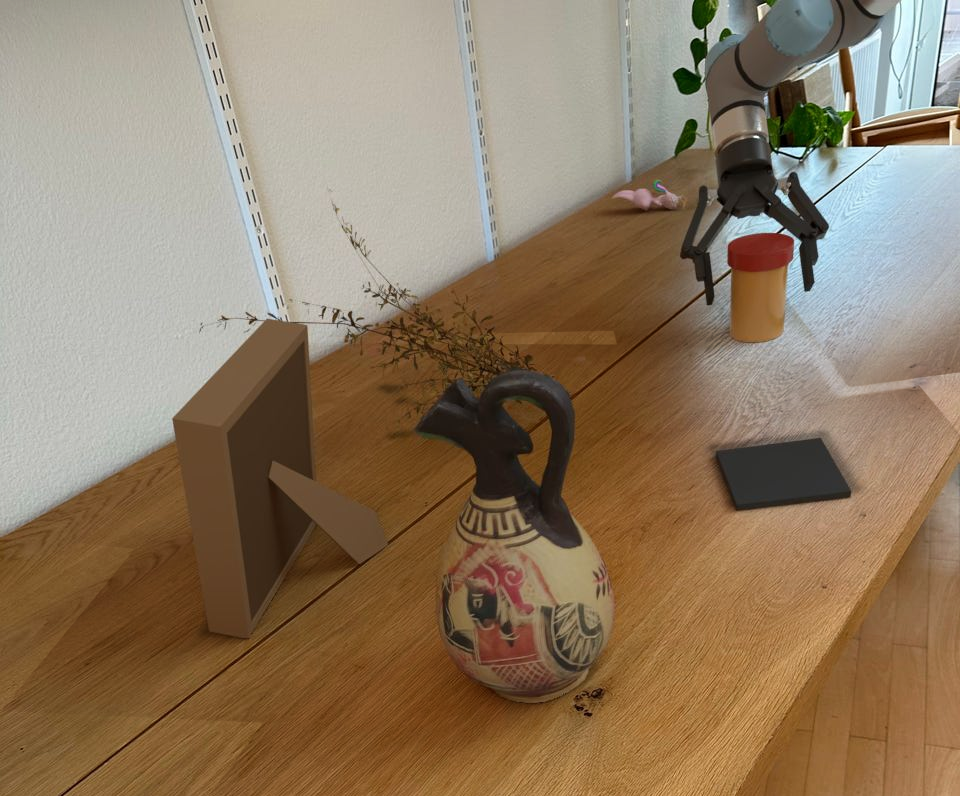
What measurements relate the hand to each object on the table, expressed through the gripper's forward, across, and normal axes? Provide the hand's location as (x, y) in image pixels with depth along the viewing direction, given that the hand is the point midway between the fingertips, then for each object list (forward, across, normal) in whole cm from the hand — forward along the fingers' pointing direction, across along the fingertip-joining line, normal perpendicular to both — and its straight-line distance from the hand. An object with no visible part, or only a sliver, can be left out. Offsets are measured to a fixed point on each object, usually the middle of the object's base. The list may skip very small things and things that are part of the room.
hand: (759, 294), depth 127 cm
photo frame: (+38, +59, +30) cm, 76 cm away
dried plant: (+17, +49, +8) cm, 52 cm away
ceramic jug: (+52, +34, +44) cm, 76 cm away
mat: (+32, +6, +23) cm, 40 cm away
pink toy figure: (-44, +7, -53) cm, 69 cm away
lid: (-5, 0, +4) cm, 6 cm away
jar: (+3, 0, -5) cm, 6 cm away
